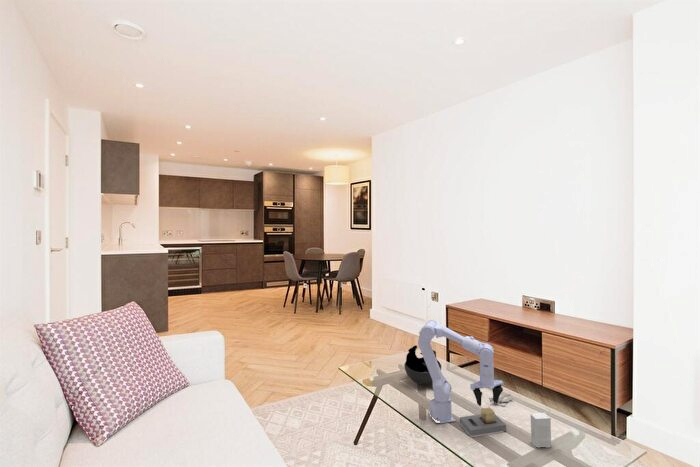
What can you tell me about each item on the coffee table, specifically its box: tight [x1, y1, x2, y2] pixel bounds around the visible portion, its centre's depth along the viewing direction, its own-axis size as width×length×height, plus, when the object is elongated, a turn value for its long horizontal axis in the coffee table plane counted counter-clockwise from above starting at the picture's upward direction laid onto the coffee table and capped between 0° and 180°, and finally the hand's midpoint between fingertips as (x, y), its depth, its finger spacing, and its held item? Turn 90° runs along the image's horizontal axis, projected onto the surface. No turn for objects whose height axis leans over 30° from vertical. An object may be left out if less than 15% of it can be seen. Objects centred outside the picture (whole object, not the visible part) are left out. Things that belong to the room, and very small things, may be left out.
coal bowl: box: [403, 345, 442, 386], centre depth 203 cm, size 20×20×19 cm
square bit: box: [480, 407, 496, 425], centre depth 160 cm, size 4×4×7 cm
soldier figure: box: [488, 393, 514, 407], centre depth 179 cm, size 8×5×12 cm
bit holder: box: [459, 413, 507, 438], centre depth 159 cm, size 16×10×3 cm, turn 100°
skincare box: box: [530, 412, 552, 448], centre depth 146 cm, size 6×4×12 cm
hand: (487, 403), depth 159 cm, fingers open, 7 cm apart
